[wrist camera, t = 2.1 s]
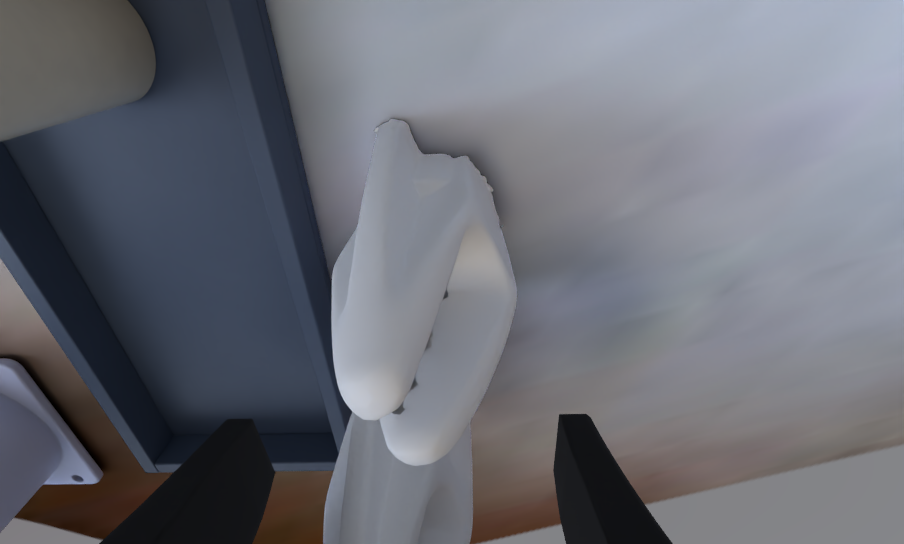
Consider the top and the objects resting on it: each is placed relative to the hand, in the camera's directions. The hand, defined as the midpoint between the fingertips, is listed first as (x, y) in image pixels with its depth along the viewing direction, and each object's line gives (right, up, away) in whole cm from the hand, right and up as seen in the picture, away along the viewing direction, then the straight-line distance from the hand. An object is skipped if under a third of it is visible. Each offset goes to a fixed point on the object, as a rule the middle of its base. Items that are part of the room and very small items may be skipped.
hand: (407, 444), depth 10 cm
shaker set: (0, +3, +6) cm, 7 cm away
